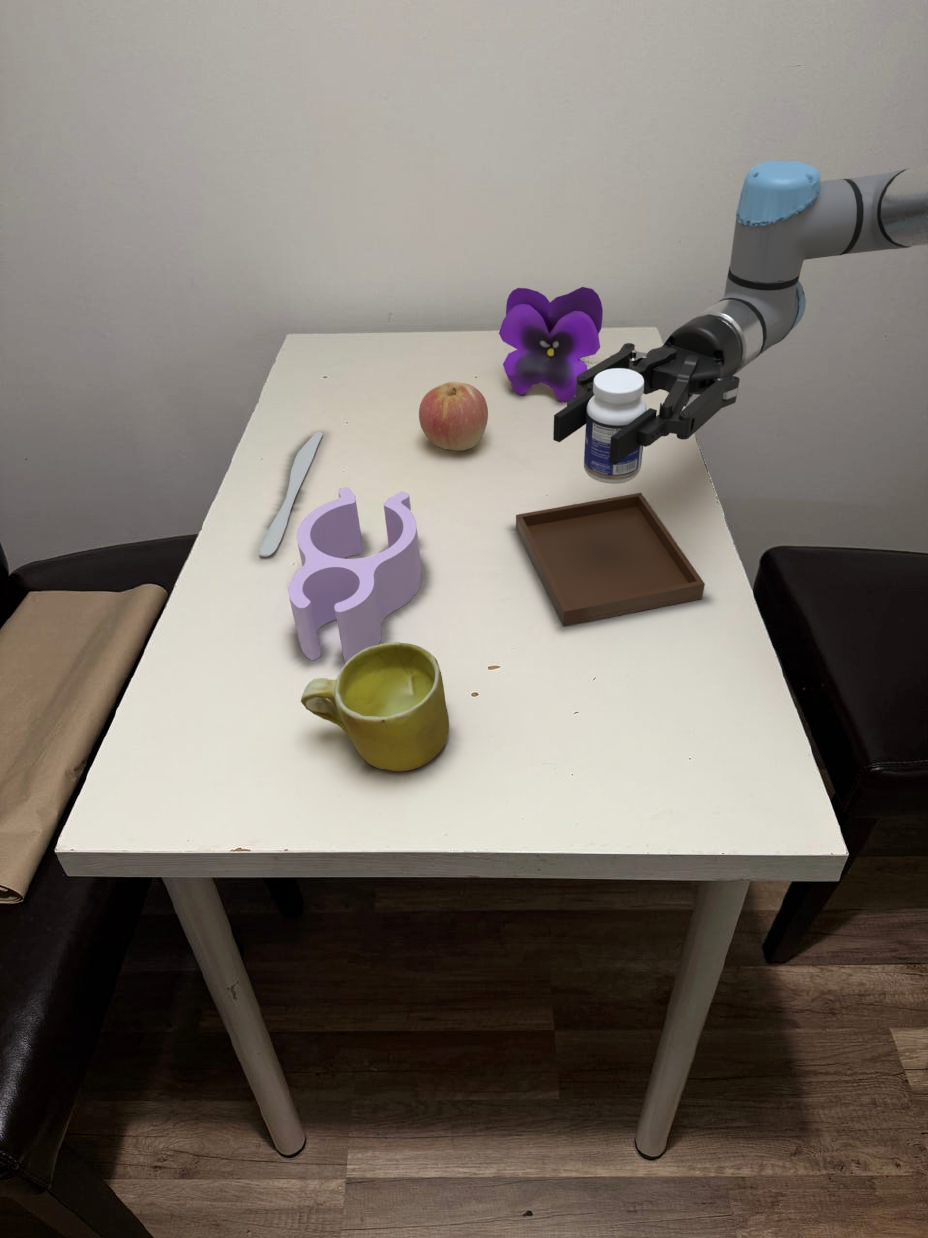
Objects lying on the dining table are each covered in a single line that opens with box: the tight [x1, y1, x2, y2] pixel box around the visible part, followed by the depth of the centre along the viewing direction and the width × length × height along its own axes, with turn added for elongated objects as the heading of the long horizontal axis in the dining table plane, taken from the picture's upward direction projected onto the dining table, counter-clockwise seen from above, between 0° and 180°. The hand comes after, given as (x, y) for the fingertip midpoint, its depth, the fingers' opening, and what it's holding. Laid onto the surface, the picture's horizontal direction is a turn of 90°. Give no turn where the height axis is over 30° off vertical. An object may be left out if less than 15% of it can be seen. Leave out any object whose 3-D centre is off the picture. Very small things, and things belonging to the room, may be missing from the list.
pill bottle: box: [583, 368, 647, 485], centre depth 86 cm, size 6×6×10 cm
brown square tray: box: [515, 492, 706, 627], centre depth 97 cm, size 17×15×2 cm
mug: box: [300, 641, 450, 772], centre depth 78 cm, size 12×10×10 cm
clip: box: [287, 487, 423, 664], centre depth 93 cm, size 20×12×7 cm, turn 169°
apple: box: [418, 381, 489, 451], centre depth 115 cm, size 9×9×8 cm
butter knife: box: [258, 431, 324, 558], centre depth 110 cm, size 1×27×3 cm
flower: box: [498, 286, 604, 403], centre depth 127 cm, size 15×15×14 cm
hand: (584, 439), depth 83 cm, fingers closed on pill bottle, 6 cm apart
